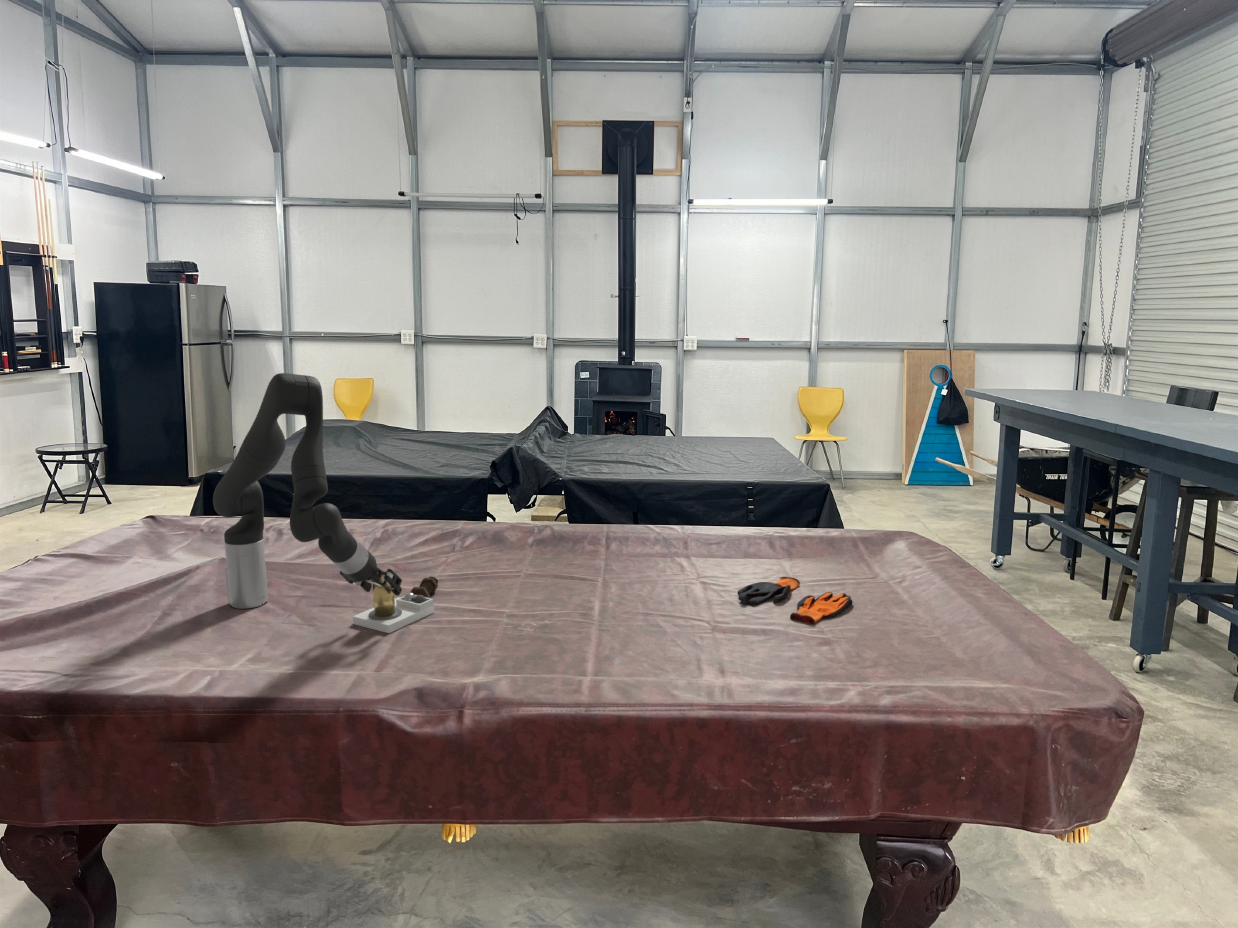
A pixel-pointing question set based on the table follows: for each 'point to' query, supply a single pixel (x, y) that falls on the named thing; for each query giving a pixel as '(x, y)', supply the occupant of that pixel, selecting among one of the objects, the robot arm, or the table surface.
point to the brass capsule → (383, 601)
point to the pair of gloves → (806, 607)
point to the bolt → (426, 587)
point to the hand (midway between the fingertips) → (384, 590)
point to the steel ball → (409, 597)
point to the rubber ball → (419, 599)
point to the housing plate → (395, 615)
